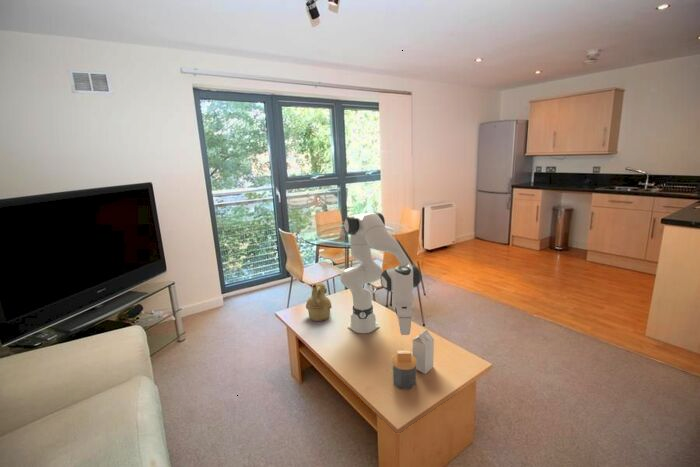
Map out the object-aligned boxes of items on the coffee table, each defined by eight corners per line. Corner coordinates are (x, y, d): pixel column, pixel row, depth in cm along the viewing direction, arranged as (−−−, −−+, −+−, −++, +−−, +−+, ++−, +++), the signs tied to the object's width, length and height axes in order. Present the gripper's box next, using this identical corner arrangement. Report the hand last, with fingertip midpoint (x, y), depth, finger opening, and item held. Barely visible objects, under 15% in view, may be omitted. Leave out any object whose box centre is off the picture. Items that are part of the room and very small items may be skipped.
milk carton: (412, 367, 152) (412, 332, 147) (420, 361, 157) (421, 326, 152) (425, 374, 147) (425, 337, 142) (433, 367, 152) (434, 331, 147)
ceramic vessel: (334, 310, 214) (332, 275, 208) (328, 325, 195) (326, 287, 190) (310, 309, 217) (308, 275, 211) (302, 324, 198) (299, 286, 192)
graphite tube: (392, 374, 148) (392, 355, 145) (413, 374, 147) (413, 355, 145) (394, 389, 138) (394, 369, 136) (416, 389, 137) (416, 369, 135)
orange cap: (390, 358, 146) (390, 345, 145) (414, 358, 146) (414, 344, 144) (392, 374, 136) (392, 359, 134) (418, 374, 135) (418, 359, 134)
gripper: (393, 293, 145) (393, 321, 148) (397, 315, 125) (397, 346, 128) (407, 293, 145) (407, 320, 148) (413, 315, 125) (413, 346, 128)
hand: (402, 332), depth 138 cm, fingers closed
